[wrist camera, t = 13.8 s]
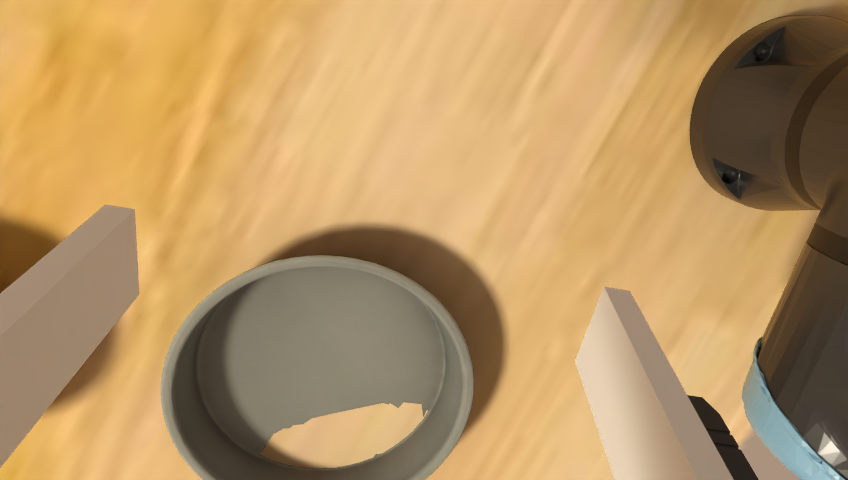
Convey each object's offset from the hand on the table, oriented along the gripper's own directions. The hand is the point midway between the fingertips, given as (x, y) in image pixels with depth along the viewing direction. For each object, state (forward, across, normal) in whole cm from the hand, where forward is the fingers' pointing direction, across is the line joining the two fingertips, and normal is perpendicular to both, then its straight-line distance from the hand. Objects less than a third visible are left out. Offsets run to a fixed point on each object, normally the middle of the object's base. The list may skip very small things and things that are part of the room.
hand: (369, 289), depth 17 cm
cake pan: (+26, -3, -26) cm, 36 cm away
